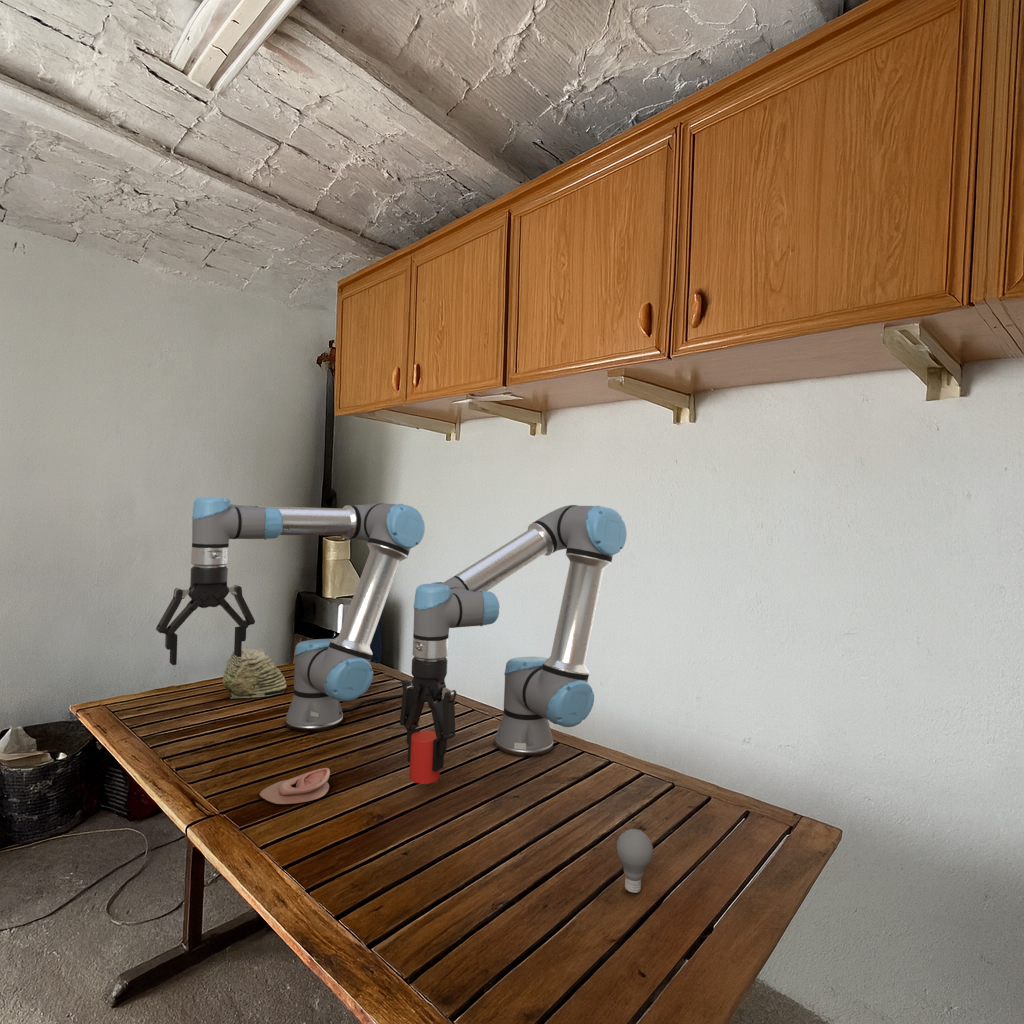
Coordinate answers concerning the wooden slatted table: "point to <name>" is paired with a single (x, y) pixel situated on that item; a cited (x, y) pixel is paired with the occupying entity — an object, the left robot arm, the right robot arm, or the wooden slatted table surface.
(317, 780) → the anatomical model
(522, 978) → the wooden slatted table surface
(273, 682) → the fossil
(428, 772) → the cylinder
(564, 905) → the wooden slatted table surface
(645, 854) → the light bulb
